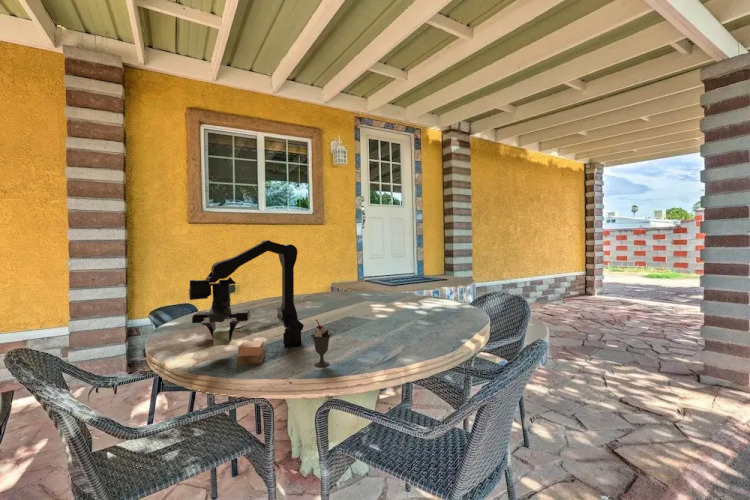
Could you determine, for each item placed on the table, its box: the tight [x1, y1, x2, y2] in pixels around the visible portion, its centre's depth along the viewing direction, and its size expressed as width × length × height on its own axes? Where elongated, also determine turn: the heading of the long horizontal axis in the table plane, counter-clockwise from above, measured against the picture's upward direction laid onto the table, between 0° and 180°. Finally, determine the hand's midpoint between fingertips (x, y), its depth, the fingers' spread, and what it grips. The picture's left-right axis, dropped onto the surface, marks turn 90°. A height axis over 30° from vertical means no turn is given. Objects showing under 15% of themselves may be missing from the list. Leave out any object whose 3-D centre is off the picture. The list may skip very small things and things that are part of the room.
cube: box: [212, 327, 233, 347], centre depth 131 cm, size 5×5×5 cm
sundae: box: [310, 319, 332, 368], centre depth 122 cm, size 7×7×15 cm
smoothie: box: [204, 305, 219, 341], centre depth 155 cm, size 6×6×14 cm
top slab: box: [237, 340, 265, 356], centre depth 127 cm, size 7×7×3 cm
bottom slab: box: [236, 348, 266, 366], centre depth 127 cm, size 8×8×3 cm
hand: (222, 340), depth 131 cm, fingers closed on cube, 5 cm apart
